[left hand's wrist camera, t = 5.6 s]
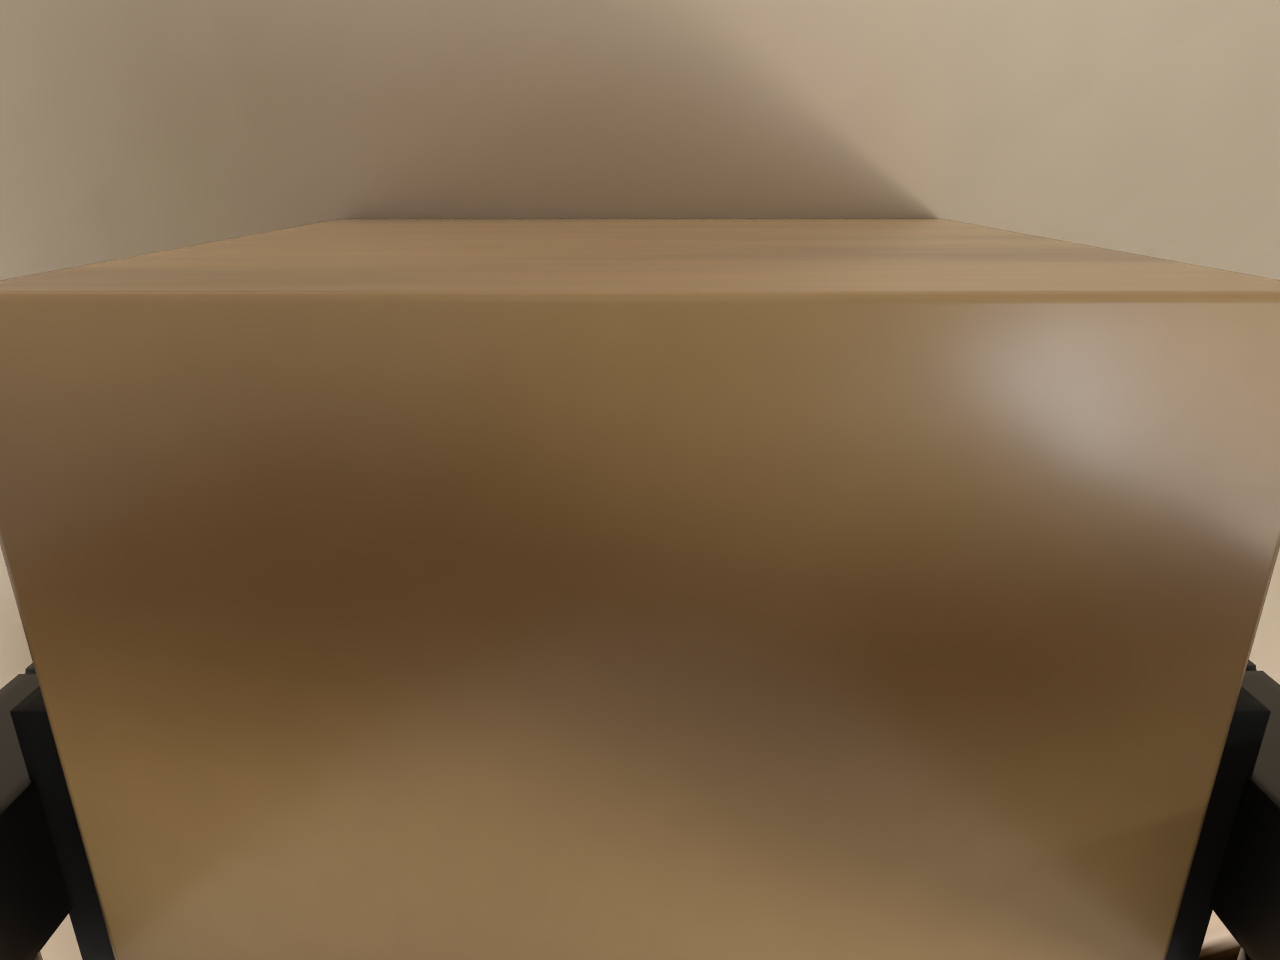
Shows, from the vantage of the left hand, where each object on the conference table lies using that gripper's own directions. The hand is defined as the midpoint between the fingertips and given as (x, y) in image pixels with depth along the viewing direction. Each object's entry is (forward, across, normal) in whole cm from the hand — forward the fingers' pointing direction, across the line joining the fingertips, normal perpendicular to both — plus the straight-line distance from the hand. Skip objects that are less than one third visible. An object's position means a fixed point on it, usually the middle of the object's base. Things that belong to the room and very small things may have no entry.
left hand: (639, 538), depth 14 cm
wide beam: (+1, 0, -33) cm, 33 cm away
